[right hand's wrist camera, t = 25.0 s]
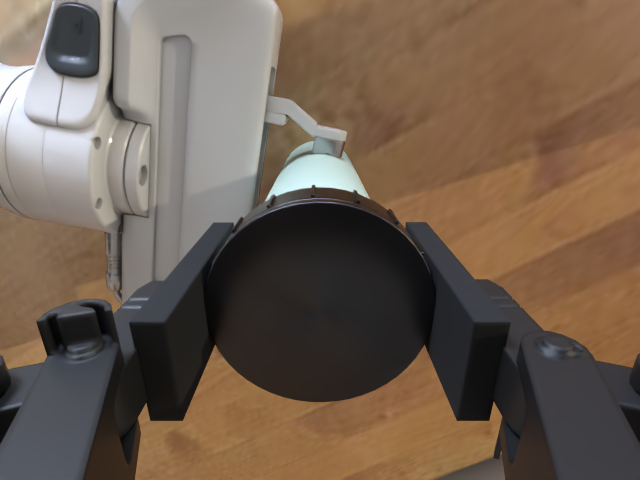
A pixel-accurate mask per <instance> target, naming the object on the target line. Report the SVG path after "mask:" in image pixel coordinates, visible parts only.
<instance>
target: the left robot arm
mask: <svg viewBox="0 0 640 480" xmlns="http://www.w3.org/2000/svg"><path fill="white" fill-rule="evenodd" d="M282 27H283V17H282V14H281V11H280V9H279V7H278V5H277V4H276V2H275V1H274V0H53V3H52V7H51V11H50V15H49V19H48V23H47V27H46V31H45V34H44V38H43V42H42V45H41V48H40V52H39V55H38V58H37V61H36V64H35V65H32V66H21V67H12V66H7V65H4V64H2V63H0V207H2V208H4V209H7V210H8V211H10V212H12V213H14V214H17V215H19V216H22V217H25V218H29V219H33V220H38V221H44V222H50V223H56V224H61V225H67V226H73V227H79V228H85V229H91V230H96V231H102V232H105V252H106V258H107V271H106V284H107V288H108V290H110V291H113V293H114V295H115V297H116V299H117V300H118V301H119V302H120V303H121V304H122V305H123V304H124V303H125V302H126V301H128V298H129V297H130V296H131V295H132V294H133V293H134V292H135V291H136V290H137V289H138V288H140V287H142V286H144V285H145V284H147V283H149V282H151V281H164V280H165V279H166V278H167V277H168V275H169V274H170V273H171V272H172V271H173V270H174V268H175V267H176V266H177V265H178V264H179V262H180V261H181V260H182V259H183V258H184V257H185V255H186V254H187V253H188V252H189V251H190V250H191V248H192V247H193V246H194V245H195V244H196V242H197V241H198V240H199V239H200V238H201V237H202V235H203V234H204V233H205V232H206V231H207V229H208V228H209V227H210V226H211V225H212V224H213V222H234V226H235V224H236V223H237V221H238V220H239V218H240V217H243V218H244V217H245V216H246V215H247V214H249V213H250V212H251V211H252V210H253V209H255V208H256V207H258V201H259V194H260V187H261V180H262V172H263V165H264V158H265V151H266V143H267V136H268V129H269V123H272V124H277V125H282V126H283V125H285V124H286V123H287V122H288V120H289V117H290V118H291V119H292V120H293V121H295V122H296V123H297V124H298V125H299V126H300V127H301V128H303V129H304V130H305V131H306V132H307V133H308V134H310V135H311V136H312V137H313V138H314V137H315V138H314V144H313V150H312V153H316V154H323V155H324V154H326V153H328V154H329V155H330V156H333V157H337V158H342V154H343V149H344V145H345V140H346V136H347V132H346V131H344V130H340V129H335V128H330V127H326V126H321V125H317V122H316V121H315V120H314V119H312V118H311V117H310V116H309V115H308V114H307V113H306V112H305V111H304V110H302V109H301V108H300V107H299V106H298V105H297V104H296V103H295V102H294V101H292V100H290V99H285V98H280V97H275V96H273V93H274V85H275V78H276V71H277V64H278V57H279V49H280V42H281V35H282ZM120 290H122V294H121V292H120Z"/></svg>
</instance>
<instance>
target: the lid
mask: <svg viewBox="0 0 640 480" xmlns="http://www.w3.org/2000/svg"><path fill="white" fill-rule="evenodd" d="M231 232H232V233H231V235H230V236H229V238H228V239H227V241H226V242H225V244H224V245H223V247H222V248H221V249H220V250H219V252H218V253H217V255H216V256H215V258H214V260H213V261H212V263H211V265H210V266H212V267H211V269H210V272H209V275H208V278H207V283H206V287H205V298H204V303H205V311H206V319H207V325H208V329H209V331H210V334H211V336H212V339H213V341H214V343H215V345H216V346H217V348H218V350H219V352H220V353H221V354H222V356H223V357H224V358H225V360H226V361H227V362H228V363H229V364H230V365H231V366H232V367H233V368H234V369H235V370H236V371H237V372H238V373H239V374H240V375H242V376H243V377H244V378H246V379H247V380H248V381H250V382H252V383H253V384H255V385H256V386H258V387H260V388H262V389H264V390H266V391H268V392H271V393H273V394H276V395H279V396H282V397H286V398H290V399H294V400H300V401H308V402H330V401H339V400H345V399H350V398H354V397H357V396H361V395H364V394H366V393H369V392H371V391H374V390H376V389H378V388H380V387H381V386H383V385H385V384H387V383H388V382H390V381H391V380H393V379H394V378H396V377H397V376H398V375H399V374H400V373H402V372H403V371H404V370H405V369H406V368H407V367H408V366H409V365H410V364H411V363H412V362H413V360H414V359H415V358H416V357H417V355H418V354H419V352H420V351H421V349H422V348H423V346H424V344H425V342H426V340H427V338H428V336H429V333H430V330H431V327H432V324H433V317H434V309H435V290H434V283H433V280H432V276H431V273H430V270H429V268H428V265H427V263H426V261H425V259H424V257H423V256H424V255H425V254H424V252H423V250H422V249H421V248H420V246H419V245H418V243H417V242H416V240H415V239H414V238H412V239H411V237H410V236H409V234H408V233H407V231H406V230H405V228H404V227H403V225H402V224H401V223H400V222H399V221H398V219H397V218H396V216H395V214H394V213H393V211H392V210H391V209H389V210H386V209H385V208H384V207H382V206H381V205H379V204H378V203H376V202H374V201H373V200H371V199H369V198H366V197H364V196H362V195H360V194H358V192H357V191H356V190H353V192H350V191H347V190H342V189H336V188H326V187H315V185H312V187H311V188H302V189H298V190H293V191H289V192H286V193H283V194H280V195H278V196H275V194H273V195H271V197H270V199H269V200H267V201H265V202H263V203H262V204H260V205H259V206H258V207H256V208H255V209H253V210H252V211H251V212H250V213H249V214H247V215H246V216H245V217H244V218H243V217H240V218H239V220H238V221H237V223H236V224H235V226H234V227H233V229H232V230H231Z"/></svg>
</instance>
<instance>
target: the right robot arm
mask: <svg viewBox="0 0 640 480" xmlns="http://www.w3.org/2000/svg"><path fill="white" fill-rule="evenodd" d="M233 227H234V222H213V224H212V225H211V226H210V227H209V228H208V229H207V231H206V232H205V233H204V234H203V235H202V237H201V238H200V239H199V240H198V241H197V242H196V244H195V245H194V246H193V247H192V248H191V250H190V251H189V252H188V253H187V254H186V255H185V257H184V258H183V259H182V260H181V261H180V262H179V264H178V265H177V266H176V267H175V268H174V270H173V271H172V272H171V273H170V274H169V275H168V277H167V278H166V279H165V280H164V281H151V282H149V283H147V284H145V285H144V286H142V287H140V288H138V289H137V290H136V291H135V292H134V293H133V294H132V295H131V296H130V297H129V298H128V301H126V302H125V303H124V304H123V305H122V306H121V307H120V309H118V310H117V311H116V312H115V313H114V314H113V312H112V307H111V304H110V303H108V302H107V301H105V300H99V299H86V300H79V301H75V302H70V303H67V304H64V305H62V306H59V307H56V308H54V309H52V310H51V311H49V312H47V313H45V314H44V315H43V316H42V317H40V318H39V319H38V320H37V321H36V322H37V325H38V328H39V331H40V334H41V338H42V341H43V344H44V347H45V350H46V353H47V358H46V360H45V362H43V363H39V364H34V365H28V366H23V367H18V368H13V369H7V367H6V364H5V362H4V359H3V356H1V355H0V480H135V474H136V466H137V458H138V451H139V443H140V436H141V432H140V425H139V421H138V416H139V414H140V413H141V411H142V409H143V407H144V406H145V404H146V402H147V407H148V412H149V416H150V421H183V419H184V416H185V414H186V412H187V409H188V407H189V405H190V402H191V400H192V398H193V395H194V393H195V390H196V388H197V386H198V383H199V381H200V379H201V376H202V374H203V372H204V369H205V367H206V365H207V362H208V360H209V357H210V355H211V353H212V350H213V348H214V346H215V343H214V341H213V339H212V336H211V334H210V331H209V329H208V325H207V319H206V311H205V303H204V298H205V287H206V283H207V278H208V275H209V272H210V269H211V267H212V266H210V265H211V263H212V261H213V260H214V258H215V256H216V255H217V253H218V252H219V250H220V249H221V248H222V247H223V245H224V244H225V242H226V241H227V239H228V238H229V236H230V235H231V233H232V232H231V230H232V229H233ZM405 230H406V231H407V233H408V234H409V236H410V237H411V239H412V238H414V239H415V240H416V242H417V243H418V245H419V246H420V248H421V249H422V250H423V252H424V254H425V255H424V256H423V257H424V259H425V261H426V263H427V265H428V268H429V270H430V273H431V276H432V280H433V283H434V290H435V309H434V317H433V324H432V327H431V330H430V333H429V336H428V338H427V340H426V342H425V346H426V349H427V351H428V353H429V356H430V358H431V360H432V363H433V365H434V367H435V370H436V372H437V375H438V377H439V379H440V382H441V384H442V386H443V389H444V391H445V393H446V396H447V398H448V400H449V403H450V405H451V408H452V410H453V412H454V415H455V417H456V419H457V421H489V419H490V415H491V410H492V406H493V401H494V402H495V404H496V406H497V408H498V409H499V411H500V413H501V415H502V416H503V417H502V421H501V425H500V430H499V434H498V438H497V442H496V446H495V451H494V458H496V459H499V456H500V452H501V451H502V457H503V465H504V473H505V480H640V354H638V355H637V358H636V361H635V363H634V366H633V368H631V367H626V366H620V365H615V364H610V363H605V362H600V361H596V360H595V359H594V357H593V355H592V354H591V353H590V352H589V351H588V349H587V348H586V347H584V346H583V345H581V344H580V343H578V342H577V341H575V340H573V339H571V338H569V337H566V336H564V335H562V334H558V333H554V332H550V331H544V330H543V329H542V328H541V327H540V326H539V325H538V324H537V323H536V322H535V321H534V320H533V319H532V318H531V317H530V316H529V315H528V314H527V313H526V312H525V311H524V310H523V309H522V308H520V305H519V304H518V303H517V302H516V301H515V300H514V299H512V297H511V296H510V295H509V294H508V293H507V292H506V291H505V290H504V289H503V288H502V287H500V286H499V285H497V284H495V283H493V282H491V281H490V280H475V279H474V278H473V277H472V276H471V275H470V273H469V272H468V271H467V270H466V269H465V267H464V266H463V265H462V264H461V263H460V262H459V260H458V259H457V258H456V257H455V256H454V255H453V253H452V252H451V251H450V250H449V249H448V247H447V246H446V245H445V244H444V243H443V242H442V240H441V239H440V238H439V237H438V236H437V234H436V233H435V232H434V231H433V230H432V229H431V227H430V226H429V225H428V224H427V223H426V222H406V229H405Z"/></svg>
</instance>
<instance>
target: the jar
mask: <svg viewBox="0 0 640 480" xmlns="http://www.w3.org/2000/svg"><path fill="white" fill-rule="evenodd" d="M313 144H314V141H311V142H307V143H305V144H302V145H300V146H299V147H297V148H296V149H295V150H294V151H293V152H292V153H291V154H290V155H289V157H288V158H287V160H286V162H285V164H284V166H283V168H282V170H281V172H280V174H279V175H278V177H277V179H276V181H275V183H274V185H273V187H272V189H271V191H270V193H269V194H268V196H267V198H266V200H265V201H267V200H269V199H270V197H271V195H273V194H275V196H278V195H280V194H283V193H286V192H289V191H293V190H298V189H302V188H311V187H312V185H315V187H326V188H336V189H342V190H347V191H350V192H353V190H356V191H357V192H358V194H360V195H362V196H364V197H366V198H369V196H368V194H367V192H366V190H365V188H364V186H363V184H362V182H361V180H360V179H359V177H358V175H357V173H356V171H355V169H354V167H353V165H352V163H351V161H350V159H349V158H348V156H347V155H346V153H345V152H344V151H343V154H342V158H337V157H333V156H330V155H329V154H328V153H326V154H324V155H323V154H316V153H312V150H313ZM369 199H370V198H369Z"/></svg>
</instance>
